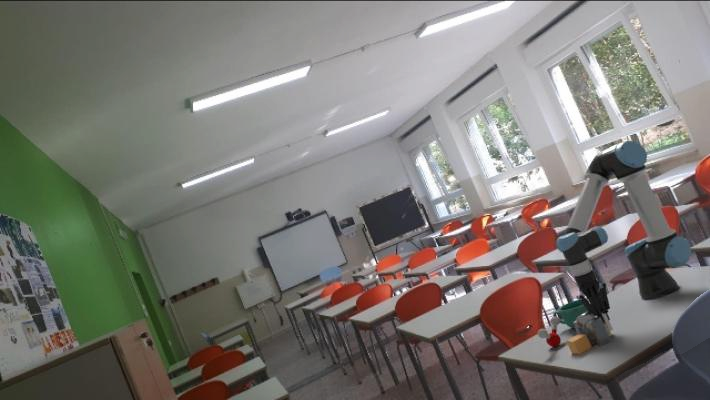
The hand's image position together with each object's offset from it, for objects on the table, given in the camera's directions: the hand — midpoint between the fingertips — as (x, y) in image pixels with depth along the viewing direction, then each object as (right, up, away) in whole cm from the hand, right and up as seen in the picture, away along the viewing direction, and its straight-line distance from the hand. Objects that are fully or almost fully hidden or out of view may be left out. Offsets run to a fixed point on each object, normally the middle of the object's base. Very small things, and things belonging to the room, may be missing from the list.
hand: (609, 330), depth 217 cm
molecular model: (-15, -10, +13) cm, 22 cm away
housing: (-6, -4, -2) cm, 7 cm away
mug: (-1, -5, +27) cm, 28 cm away
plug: (-7, -5, -3) cm, 9 cm away
